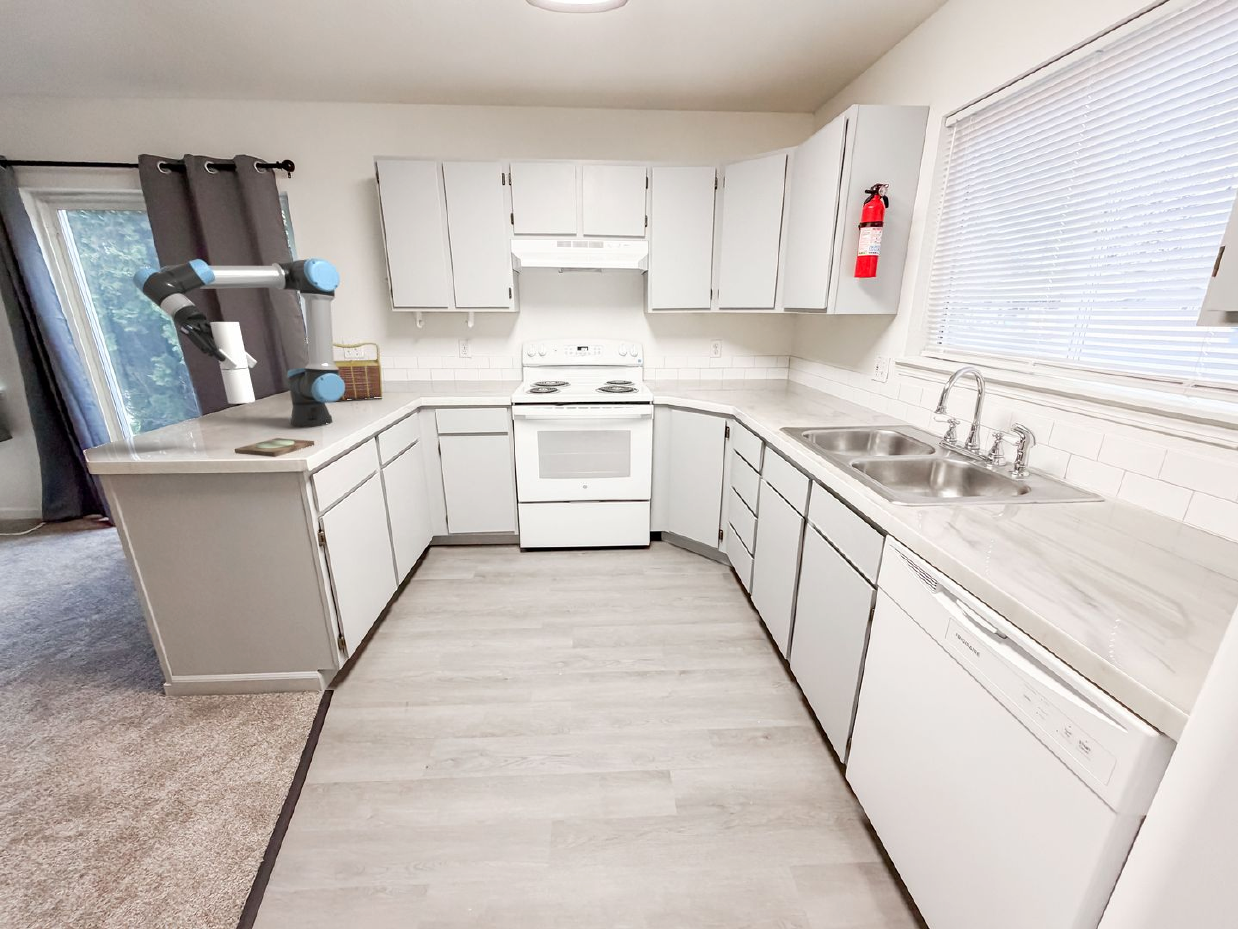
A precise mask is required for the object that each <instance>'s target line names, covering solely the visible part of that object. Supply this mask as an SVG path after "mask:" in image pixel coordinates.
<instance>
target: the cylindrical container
mask: <svg viewBox="0 0 1238 929" xmlns="http://www.w3.org/2000/svg"><path fill="white" fill-rule="evenodd" d="M209 322H210V321H209ZM210 324H211V329H212V333H213V337H214V340H213V341H214V342H213V343H214V344H215V346H216V347H217V351H218V350H219V349H221V350H222V351H223V352H224V353H226V354H227V355H228V356H229V357H230V358H231V359H232V360H233V361H235V362H236V363H237V364H238V365H237V366H236V368H235V369H234V370H233V371H231V370H230V369H229V368H228V367H227V366H226V365H224V364H223V363H222V362H221V361H219V360H218V363H219V367H220V372H221V376H222V377H221V378H222V382H223V386H224V390H225V395H226V399H227V403H228V404H232V405H235V404H236V405H237V404H246V403H247V404H248V403H254V402H255V401H256V398H255V393H254V389H253V384H252V380H251V379H252V378H251V375H250V369H249V366H248V364H247V359H246V354H245V351H246V350H245V346H244V345H243V343H244V341H243V336H242V331H241V327H240V322H239V321H214V322H213V321H212V322H210Z"/></svg>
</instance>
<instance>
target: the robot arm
mask: <svg viewBox="0 0 1238 929" xmlns="http://www.w3.org/2000/svg"><path fill="white" fill-rule="evenodd" d="M132 283H133V284H134V285H135V287H136V288H137V289H138V290H139V291H140V292H141V293H143V295H144V296H146V298H148V299H149V300H150V301H152V302H153V303H154V304H155V305H156V306H157V307H159V309H161V310H162V311H163V312H164V313H165V314H167V315H168V316H169V317H170V318H171V319H172V320H174V322H175V323H176V324H177V325H178V326H180V327H181V328H180V329H179V332H180V333H181V334H182V335H184V336H186V338H188V339H189V340H190V342H191V343H192V344H194V345H195V347H196V348H197V349H198V350H199V351H200V352H201V353H202V354H204V355H207V356H208V357H210V358H212V357H214V358H216V359H217V360H218V362H219V361H221V362H222V363H223V364H224V365H226V366H227V367H228V368H229V369H230V370H231V371H233V370H234V369H235V368H236V366H237V365H238V364H237V363H236V362H235V361H233V360H232V359H231V358H230V357H229V356H228V355H227V354H226V353H224V352H223V351H222V350H221V349H219V350H218V351H217V347H216V346H215V342H213V341H214V337H213V333H212V329H211V324H210V321H209V320H207V316H206V313H205V312H203V311H202V310H201V309H200V308H199V307H198V306H197V305H195V303H194V302H192V301H191V300H190V299H189V298H188V297H187V296H185V294H187V293H190V292H193V291H195V290H199V289H200V290H203V289H208V290H209V289H243V288H245V289H248V288H249V289H250V288H252V289H253V288H254V289H255V288H277V289H278V290H283V291H284V290H285V291H286V290H291V291H299V296H301V297H302V299H304V306H305V308H304V309H305V322H306V336H307V353H308V354H307V355H308V364H307V365H306V366H304V368H303V367H302V368H301V367H300V368H293V369H289V370H287V374H286V375H287V382H288V388H289V392H290V393H289V394H290V399H291V405H292V407H291V408H292V410H291V417H290V418H289V422H290V426H292V425H293V426H292V427H296V426H309V427H316V426H315V425H319V426H323V425H322V424H325V425H327V424H326V423H329V424H331V423H333V417H332V415H331V414H330V411H329V409H328V406H326V405H327V404H328V403H335V402H338V401H337V400H339V399H340V398H341V397H342V395H343V394H344V391H345V384H344V381H343V380H342V379H341V378H340V377H339V369H338V368H337V367H336V366H335V365H334V361H335V358H334V345H333V343H334V341H333V340H334V339H333V322H332V321H333V318H332V306H331V303H332V301H334V300H335V298H336V296H335V295H336V294H335V292H336V291H335V290H337V288H338V287H339V285H340V274H339V272H338V269H337V268H336V267H335V266H334V265H333V264H332V263H331V262H329V261H328V260H325V259H322V258H314V257H313V258H309V259H308V258H307V259H299V260H292V261H288V262H287V261H286V262H274V263H272V264H271V265H208V264H207V262H205V261H204V260H202V259H200V258H197V259H194V260H189V261H188V262H185V263H183V264H181V263H180V264H176V265H175V264H174V265H169V264H168V265H166V266H163V267H161V268H160V269H159V270H156V269H154V268H152V267H147V268H146V267H145V268H141V269H139V270H138V271H136V272H135V273H134V275H133V277H132ZM243 345H244V347H245V346H246V343H244V342H243ZM245 354H246V359H247V364H248V368H251V369H253V368H254V367H255V366H256V364H257V363H258V361H257V360H256V359H255V358H254V357H252V356H251V355H250V354H249V353H248V352H247V351H246V350H245ZM326 403H327V404H326Z"/></svg>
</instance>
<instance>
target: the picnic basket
mask: <svg viewBox="0 0 1238 929" xmlns="http://www.w3.org/2000/svg"><path fill="white" fill-rule="evenodd" d="M364 345H374V346H375V347H376V359H359V360H358V359H357V360H356V359H355V360H353V359H350V360H334V365H335V366H336V367H337V368H338V369H339V377H340V378H341V379H342V380H343V381H344V384H345V391H344V394H343V395H342V397H341V398H340V399H339V400H344V401H348V400H347V399H361V400H366V399H365V398H374V397H382V398H383V386H382V384H383V383H382V382H383V381H382V363H381V360H380V346H379V344H377V342H376V343H375V342H360V343H356V344H341V343H336V342H333V347H337V348H344V349H348V348H349V349H354V348H360V347H362V346H364Z"/></svg>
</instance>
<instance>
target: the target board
mask: <svg viewBox="0 0 1238 929" xmlns="http://www.w3.org/2000/svg"><path fill="white" fill-rule="evenodd" d="M312 445H313V446H315V440H306V439H304V440H303V439H291V438H282V437H281V438H280V437H276V438H271V439H267V440H264V441H260V442H256V443H252V444H248V445H244V446H241V447H237V448H234V453H235V454H238V455H239V454H241V455H251V456H263V457H271V458H272V457H274V458H276V457H280V456H282V455H286V454H290V453H293V452H295V451H296V452H297V451H299V449H300V450H302V449H301V448H303V449H307V448H310V447H313V446H312ZM309 446H310V447H309ZM306 447H307V448H306Z"/></svg>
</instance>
